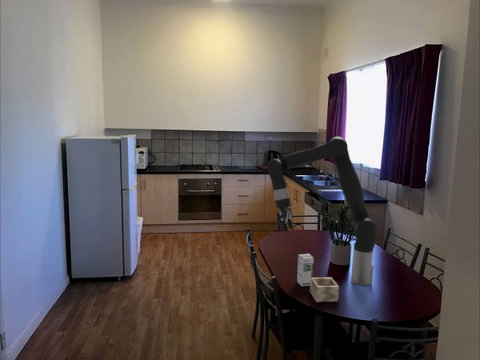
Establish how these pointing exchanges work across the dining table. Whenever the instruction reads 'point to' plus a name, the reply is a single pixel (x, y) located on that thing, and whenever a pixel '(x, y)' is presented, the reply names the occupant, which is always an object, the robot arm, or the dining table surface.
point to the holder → (324, 289)
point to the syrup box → (305, 269)
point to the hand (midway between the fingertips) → (288, 230)
